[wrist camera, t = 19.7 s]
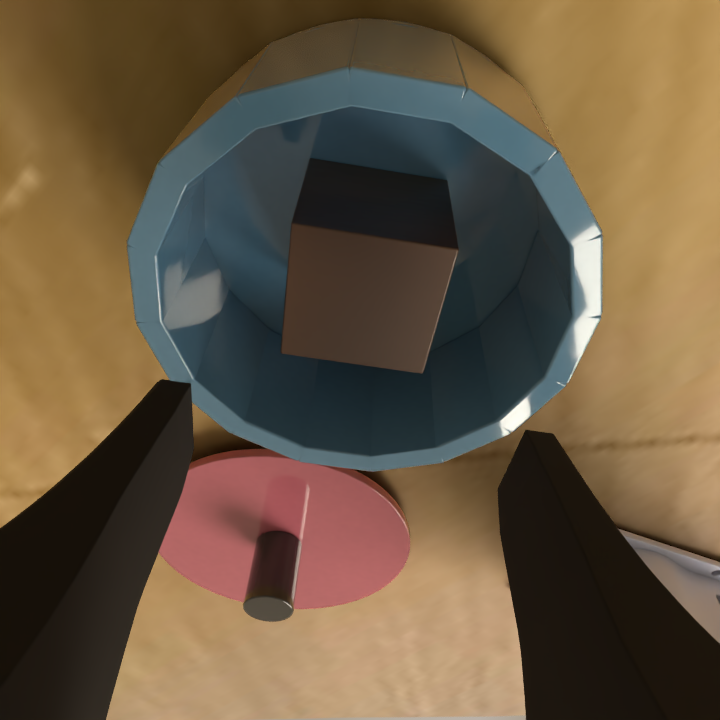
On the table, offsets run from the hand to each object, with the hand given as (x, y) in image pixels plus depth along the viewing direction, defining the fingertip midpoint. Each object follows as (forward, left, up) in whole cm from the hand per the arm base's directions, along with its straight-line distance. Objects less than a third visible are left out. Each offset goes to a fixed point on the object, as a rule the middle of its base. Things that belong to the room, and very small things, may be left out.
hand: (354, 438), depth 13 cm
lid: (-3, +18, -9) cm, 21 cm away
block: (0, 0, -9) cm, 9 cm away
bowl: (0, 0, -10) cm, 10 cm away
